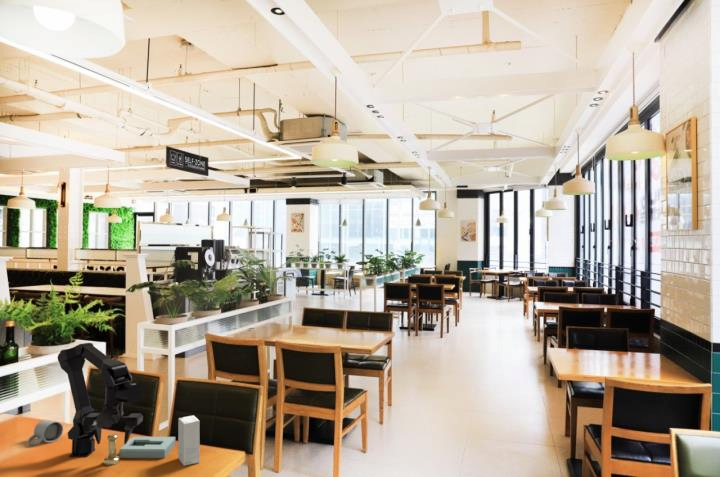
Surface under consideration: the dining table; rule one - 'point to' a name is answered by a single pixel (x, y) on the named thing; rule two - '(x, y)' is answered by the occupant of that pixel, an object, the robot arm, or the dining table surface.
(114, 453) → the brass door knob
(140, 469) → the dining table surface
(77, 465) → the dining table surface
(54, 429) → the ceramic mug
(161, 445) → the keyhole plate
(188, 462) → the skincare box
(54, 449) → the dining table surface
